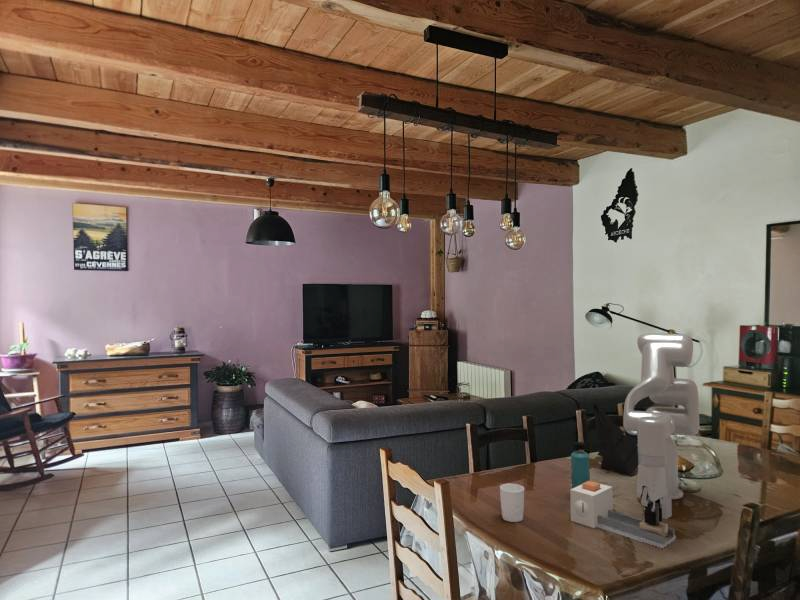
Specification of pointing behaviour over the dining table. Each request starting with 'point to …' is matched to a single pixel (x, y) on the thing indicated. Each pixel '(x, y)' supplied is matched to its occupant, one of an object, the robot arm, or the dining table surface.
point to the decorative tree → (615, 445)
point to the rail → (633, 529)
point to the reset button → (591, 486)
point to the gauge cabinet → (590, 504)
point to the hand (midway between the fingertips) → (653, 521)
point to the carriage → (657, 528)
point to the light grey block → (666, 505)
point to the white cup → (512, 502)
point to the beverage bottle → (579, 465)
